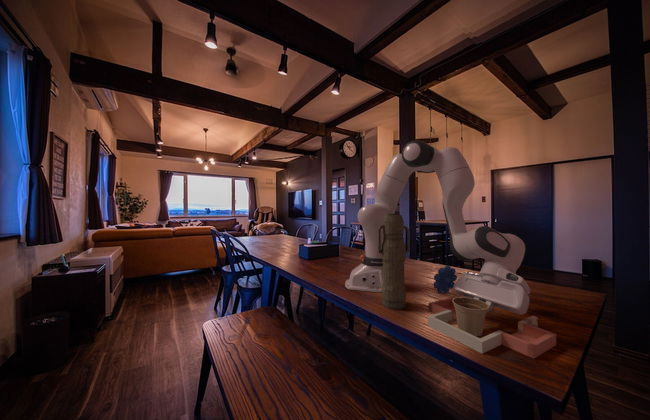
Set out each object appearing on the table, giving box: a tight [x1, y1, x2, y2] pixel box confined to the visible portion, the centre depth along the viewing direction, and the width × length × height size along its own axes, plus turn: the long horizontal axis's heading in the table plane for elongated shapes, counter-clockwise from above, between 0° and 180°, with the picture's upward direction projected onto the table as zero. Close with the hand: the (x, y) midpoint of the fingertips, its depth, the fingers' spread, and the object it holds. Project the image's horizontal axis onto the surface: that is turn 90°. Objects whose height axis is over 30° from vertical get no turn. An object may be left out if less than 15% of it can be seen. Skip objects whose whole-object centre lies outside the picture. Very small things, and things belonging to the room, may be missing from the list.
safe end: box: [427, 310, 504, 354], centre depth 70 cm, size 10×16×3 cm, turn 27°
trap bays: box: [428, 296, 557, 360], centre depth 75 cm, size 12×30×3 cm, turn 27°
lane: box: [517, 315, 539, 333], centre depth 79 cm, size 9×16×3 cm, turn 27°
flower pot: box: [452, 296, 489, 337], centre depth 71 cm, size 9×9×9 cm
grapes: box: [432, 264, 458, 294], centre depth 105 cm, size 12×7×12 cm, turn 104°
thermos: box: [377, 213, 410, 310], centre depth 91 cm, size 9×12×35 cm
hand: (478, 313), depth 73 cm, fingers closed, pressing on flower pot
